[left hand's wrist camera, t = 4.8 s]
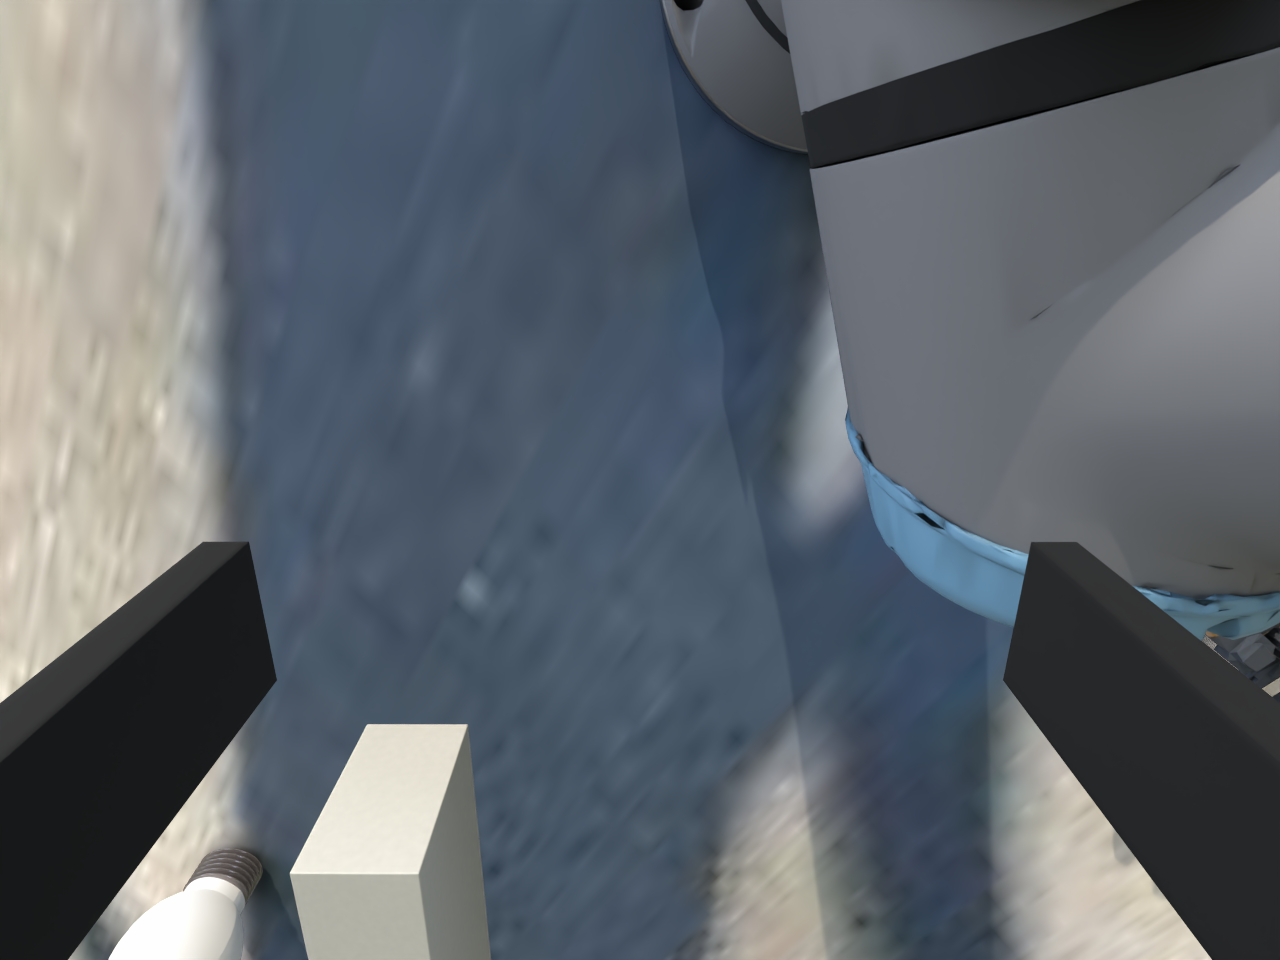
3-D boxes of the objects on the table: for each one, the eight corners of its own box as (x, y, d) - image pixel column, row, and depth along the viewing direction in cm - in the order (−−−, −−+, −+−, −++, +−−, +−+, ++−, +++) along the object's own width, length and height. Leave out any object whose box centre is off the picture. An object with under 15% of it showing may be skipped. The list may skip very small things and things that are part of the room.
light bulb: (247, 818, 49) (142, 985, 38) (303, 890, 51) (217, 1067, 40) (159, 848, 49) (33, 1020, 39) (218, 918, 52) (113, 1098, 41)
